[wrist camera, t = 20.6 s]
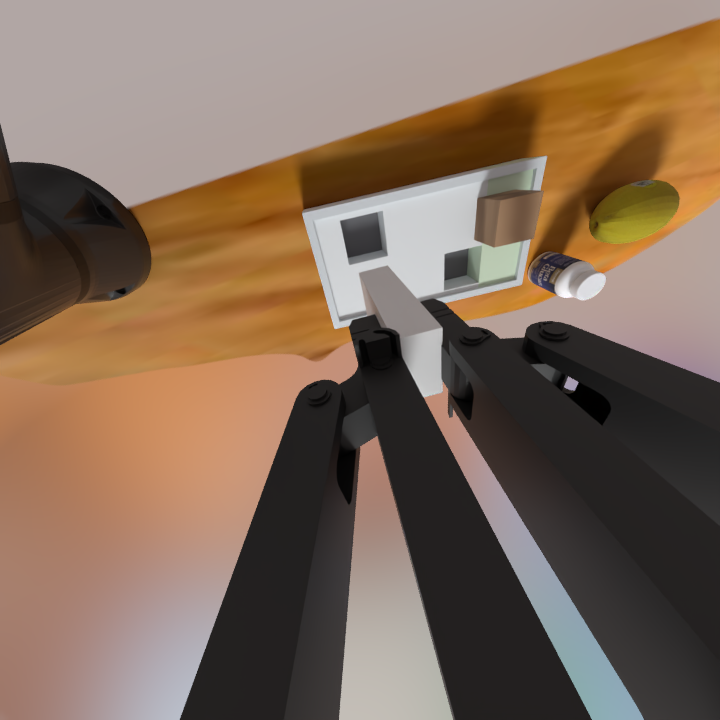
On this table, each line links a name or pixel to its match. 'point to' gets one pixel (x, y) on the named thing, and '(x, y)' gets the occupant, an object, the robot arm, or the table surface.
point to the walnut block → (507, 217)
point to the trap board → (419, 238)
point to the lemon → (634, 211)
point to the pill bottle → (566, 276)
